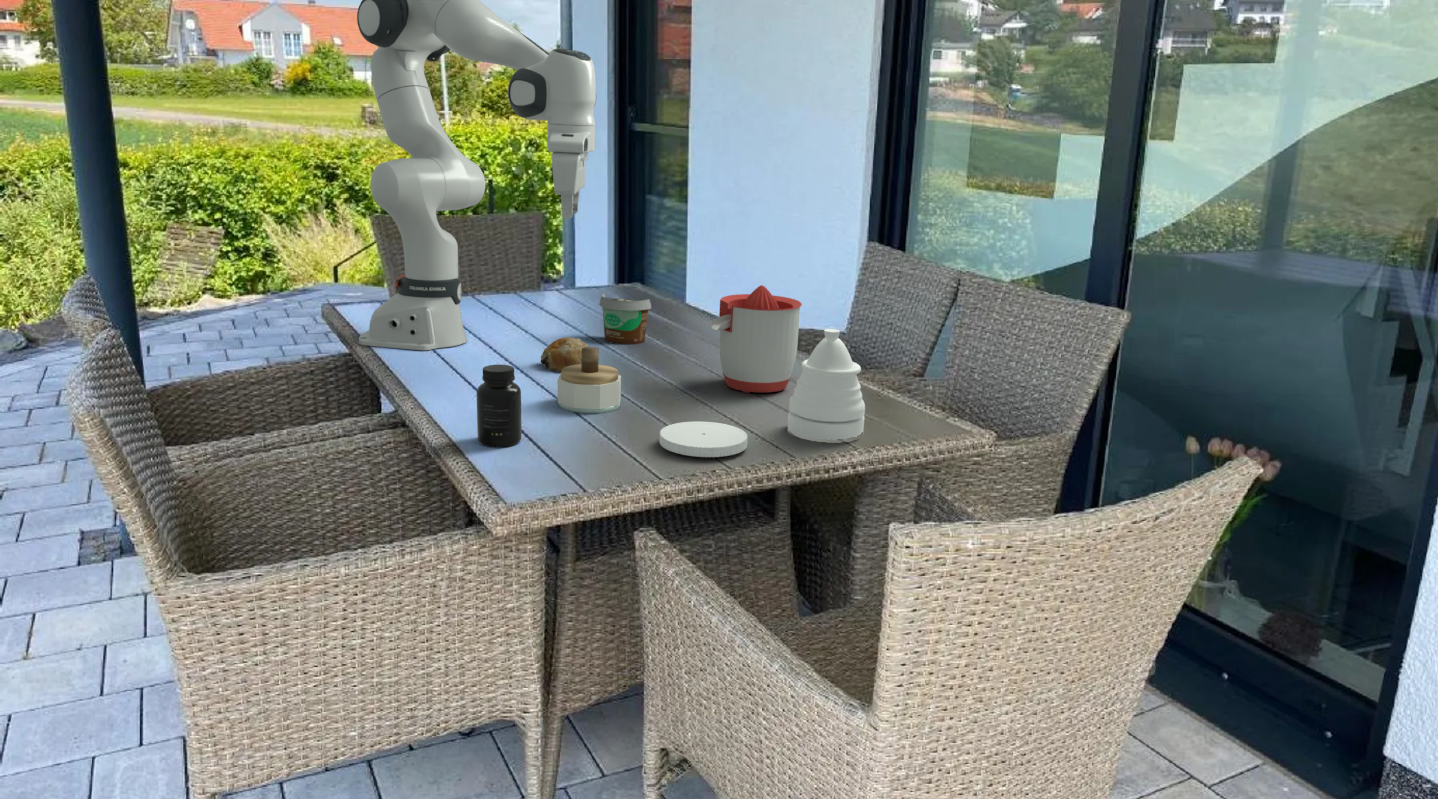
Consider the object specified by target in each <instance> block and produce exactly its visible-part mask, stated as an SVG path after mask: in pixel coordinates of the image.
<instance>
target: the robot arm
mask: <svg viewBox="0 0 1438 799" xmlns="http://www.w3.org/2000/svg"><path fill="white" fill-rule="evenodd" d="M356 22H357V25H358V31H359V33H360V34H361V36H362V37H363V39H365V41H366V42H368V43H370V44H372V45H374V46H377V47H378V48H377V49H376V50H375V51H373V53H372V55H371V58H370V69H371V70H370V72H371V80H372V87H373V90H374V95H375V98H376V99H375V100H376V103H377V105H378V110H379V112H380V116H381V120H382V123H383V126H384V130H385V132H386V135H387V137H388V139H389V140H390V141H391V142H392V143H393V144H395V145H396V146H398V147H400V148H401V149H403V150H404V151H405V152H407V153H408V154H409V155H410V156H411V157H410V158H407V157H406V158H403V157H402V158H397V159H392V160H388V161H385V162H382V163H379V164H378V165H377V166H376V167H375V168H374V170H373V171H372V173H371V177H370V192H371V195H372V197H373V199H374V201H375V202H376V204H377V205H378V206H379V207H380V208H381V209H383V211H385V212H386V213H387V214H388V215H389V216H390V217H391V219H392V220H393V221H394V223H395V225H396V226H397V228H398V230H399V234H400V236H401V239H402V240H401V241H402V246H403V260H404V273H403V274H401V275H400V276H398V278H397V279H396V280H395V282H394V287H395V290H396V292H397V293H396V294H394V295H393V296H392V297H390V298H389V299H388V300H386V301H385V302H384V303H383V304H381V305H380V306H379V307H377V308H376V309H375V310H374V311H373V312H372V314H371V317H370V323H369V328H368V329H369V330H366V331H365V332H363V333H362V334H360V335H359V337H358V343H359V345H361V346H369V347H379V348H380V347H381V348H392V349H404V350H413V351H414V350H415V351H416V350H417V351H429V350H436V349H441V348H450V347H456V346H459V345H463V344H464V343H466V342H468V338H467V335H466V332H465V327H464V324H463V318H462V312H461V304H460V303H461V302H462V282H461V277H460V276H459V246H458V245H459V244H458V242H457V240H456V238H455V237H454V236H453V235H452V234H451V233H450V232H448V231H446V230H445V229H443V228H442V227H441V226H440V223H439V221H438V218H437V216H438V215H437V212H443V211H459V210H463V209H466V208H470V207H472V206H475V205H477V204H479V203H480V202H481V200H482V199H483V197H484V195H485V191H486V179H485V176H484V172H483V171H482V169H481V167H480V165H478V164H477V163H476V162H474V161H472V160H471V159H469V158H468V157H467V156H465V155H464V154H463V153H462V152H461V151H460V150H459V149H458V148H457V147H456V145H455V144H454V143H453V142H452V140H451V139H450V138H449V136H448V134H447V133H446V131H445V130H444V128H443V126H442V123H441V121H440V117H439V115H438V113H437V112H438V111H437V110H436V106H435V103H434V100H433V97H432V94H431V91H430V86H429V83H428V81H427V78H426V75H425V67H424V66H425V62H426V61H429V62H431V63H433V62H434V63H435V62H437V61H439V60H440V58H441V57H442V56H443V55H445V54H446V53H449V52H450V51H452V52H453V53H455V54H457V55H459V56H461V58H464V59H467V60H470V61H475V62H480V63H481V62H482V63H488V64H494V65H499V66H503V67H506V68H511V69H513V70H516V71H515V72H514V73H513V74H512V76H511V77H510V79H509V81H508V82H509V83H508V87H507V99H508V102H509V105H510V107H511V109H512V112H514V113H515V114H516V115H517V116H518V117H519V118H521V119H525V120H530V121H546V122H547V124H546V125H547V126H546V128H547V129H546V131H547V132H546V133H547V134H546V137H547V138H546V139H547V140H546V146H547V147H546V148H547V150H548V152H550V153H551V165H552V178H553V188H554V192H555V194H556V195H559V196H560V202H561V208H562V209H561V212H562V213H561V214H562V218H563V219H566V220H570V219H572V218H573V217H574V215H575V214H577V213H578V212H579V200H580V191H581V190H582V189H584V188H585V185H586V161H588V160H589V153H590V152H595V151H596V121H595V118H594V109H595V107H596V106H595V105H596V102H597V86H596V83H597V82H596V71H595V66H594V61H593V59H592V57H590V55H589V54H587V53H585V52H584V51H583V52H582V51H579V50H573V49H569V48H568V49H567V48H556V49H552V50H551V51H550V52H548V51H547V50H546V49H544V48H543V47H541V46H540V45H539V44H537V43H536V42H535V41H533V40H532V39H531V38H529V37H528V36H526V35H525V34H523V33H522V32H520V31H519V30H518V29H516V28H515V27H514V26H512V25H511V24H510V23H509V22H506V21H505V20H504V19H503V18H502V17H500V16H499V15H498V14H497V13H496V12H494V11H493V10H491V9H490V8H489V7H488V6H487V5H485V3H483V2H482V0H361V1H360V3H359V6H358V8H357V13H356Z"/></svg>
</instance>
